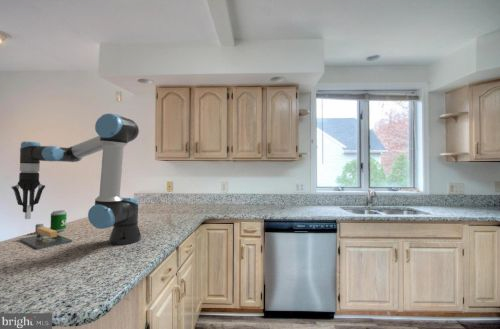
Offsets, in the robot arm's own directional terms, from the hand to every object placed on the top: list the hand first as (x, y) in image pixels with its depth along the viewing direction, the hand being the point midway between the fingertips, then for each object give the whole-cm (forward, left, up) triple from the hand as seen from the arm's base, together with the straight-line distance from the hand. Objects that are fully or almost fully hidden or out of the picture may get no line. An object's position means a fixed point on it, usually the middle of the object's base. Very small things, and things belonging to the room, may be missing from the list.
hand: (27, 218), depth 123 cm
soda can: (+15, -19, -13) cm, 27 cm away
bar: (-3, -7, -9) cm, 12 cm away
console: (-3, -7, -13) cm, 15 cm away
